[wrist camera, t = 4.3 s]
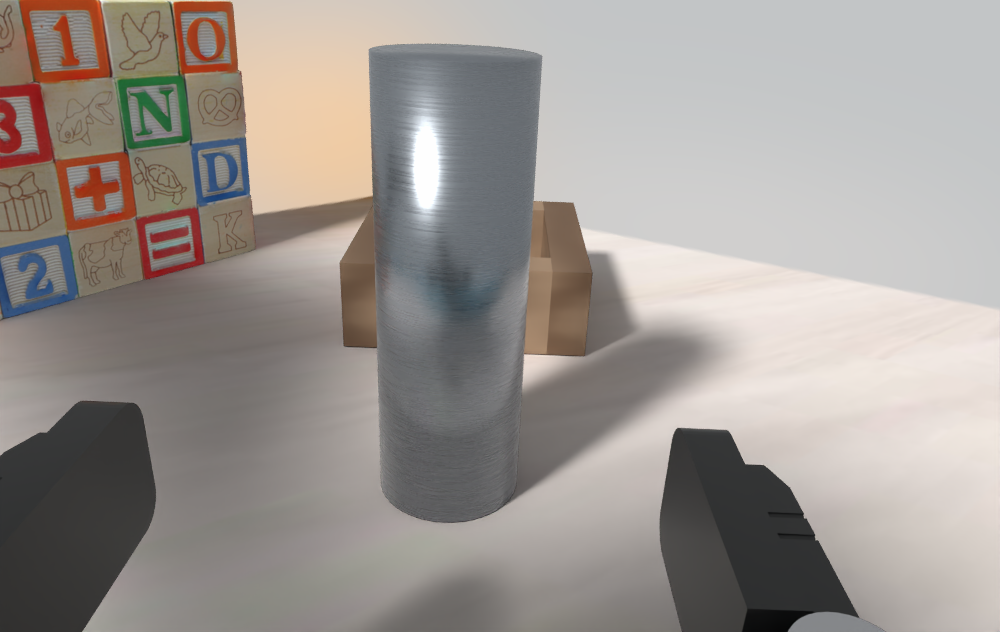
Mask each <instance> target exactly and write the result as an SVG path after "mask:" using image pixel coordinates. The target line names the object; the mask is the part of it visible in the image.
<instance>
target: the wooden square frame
mask: <svg viewBox="0 0 1000 632" xmlns="http://www.w3.org/2000/svg"><path fill="white" fill-rule="evenodd" d="M340 278H341V298H342V319H343V339H344V346H356V347H377V324H376V288H375V253H374V218H373V206H372V208H371V209H370V211H369V213H368V215H367V216H366V218H365V220H364V222H363V223H362V225H361V227H360V228H359V230H358V232H357V234H356V235H355V237H354V239H353V241H352V242H351V244H350V246H349V248H348V249H347V251H346V253H345V254H344V256H343V258H342V260H341V261H340ZM591 283H592V270H591V266H590V262H589V259H588V255H587V251H586V248H585V244H584V240H583V237H582V233H581V229H580V225H579V222H578V218H577V214H576V211H575V207H574V204H573V203H566V202H542V201H533V216H532V233H531V249H530V266H529V282H528V299H527V315H526V332H525V348H524V353H525V354H549V355H573V356H584V355H585V345H586V335H587V324H588V314H589V304H590V293H591Z"/></svg>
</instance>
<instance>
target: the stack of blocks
mask: <svg viewBox="0 0 1000 632" xmlns="http://www.w3.org/2000/svg"><path fill="white" fill-rule="evenodd" d="M245 123H246V122H245V110H244V97H243V85H242V75H241V71H239V70H238V60H237V47H236V35H235V24H234V11H233V4H232V2H230V1H224V0H0V320H1V319H2V318H7V317H12V316H15V315H19V314H23V313H27V312H30V311H34V310H37V309H41V308H44V307H48V306H52V305H55V304H59V303H62V302H66V301H70V300H73V299H76V298H78V297H83V296H87V295H91V294H94V293H98V292H101V291H105V290H108V289H112V288H116V287H119V286H123V285H126V284H130V283H134V282H137V281H141V280H144V279H150V278H154V277H158V276H161V275H165V274H168V273H172V272H176V271H179V270H183V269H187V268H190V267H194V266H197V265H201V264H204V263H209V262H212V261H216V260H220V259H223V258H227V257H231V256H234V255H238V254H241V253H245V252H249V251H252V250H255V247H256V245H255V233H254V224H253V212H252V201H251V195H250V186H249V174H248V162H247V148H246V137H245V134H246V124H245Z"/></svg>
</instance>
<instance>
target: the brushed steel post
mask: <svg viewBox="0 0 1000 632" xmlns="http://www.w3.org/2000/svg"><path fill="white" fill-rule="evenodd" d="M541 67H542V56H541V55H539V54H537V53H534V52H530V51H524V50H517V49H510V48H501V47H490V46H475V45H458V44H400V45H399V44H398V45H385V46H378V47H373V48H370V49H369V76H370V112H371V148H372V182H373V218H374V253H375V288H376V324H377V359H378V394H379V429H380V465H381V486H382V490H383V492H384V494H385V496H386V498H387V499H388V500H389V501H390V502H391V503H392V504H393V505H394V506H395V507H397V508H398V509H399V510H401V511H403V512H405V513H407V514H409V515H411V516H414V517H416V518H420V519H424V520H429V521H435V522H462V521H468V520H473V519H477V518H480V517H483V516H486V515H488V514H490V513H492V512H494V511H496V510H497V509H499V508H500V507H502V506H503V505H504V504H505V503H506V502H507V501H508V500H509V499H510V498H511V496H512V495H513V493H514V491H515V488H516V480H517V464H518V447H519V431H520V414H521V398H522V381H523V365H524V348H525V332H526V315H527V299H528V282H529V266H530V249H531V233H532V216H533V200H534V182H535V166H536V149H537V134H538V117H539V101H540V84H541Z"/></svg>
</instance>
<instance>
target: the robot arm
mask: <svg viewBox="0 0 1000 632" xmlns="http://www.w3.org/2000/svg"><path fill="white" fill-rule="evenodd" d="M155 502H156V488H155V482H154V476H153V471H152V465H151V459H150V454H149V448H148V443H147V437H146V431H145V426H144V420H143V416H142V413H141V410H140V408H139V407H138V406H137V405H136V404H134V403H123V402H100V401H80V402H78V403H76V404H75V405H74V406H73V407H72V408H71V409H70V410H69V411H68V412H67V413H66V414H65V415H64V416H63V417H62V418H61V419H60V420H59V421H58V422H57V423H56V424H55V425H54V426H53V427H52V428H51V429H50V430H49V431H48V432H47V433H38V434H36V435H34V436H33V437H31V438H29V439H27V440H25V441H24V442H22V443H20V444H18V445H16V446H15V447H13V448H11V449H9V450H8V451H6V452H4V453H3V454H2V455H1V456H0V632H82V631H83V630H84V628H85V627H86V625H87V623H88V622H89V620H90V619H91V617H92V616H93V614H94V613H95V611H96V609H97V608H98V606H99V605H100V603H101V602H102V600H103V599H104V597H105V595H106V594H107V592H108V591H109V589H110V588H111V586H112V585H113V583H114V581H115V580H116V578H117V577H118V575H119V574H120V572H121V570H122V569H123V567H124V566H125V564H126V563H127V561H128V560H129V558H130V556H131V555H132V553H133V552H134V550H135V549H136V547H137V546H138V544H139V542H140V541H141V539H142V538H143V536H144V535H145V533H146V531H147V530H148V528H149V526H150V523H151V520H152V517H153V514H154V509H155ZM803 515H804V513H803V511H802V509H801V508H800V506H799V504H798V502H797V500H796V498H795V496H794V494H793V493H792V491H791V489H790V487H788V486H787V485H786V484H785V483H784V482H783V481H782V480H780V479H779V478H778V477H777V476H776V475H775V474H774V473H772V472H771V471H770V470H769V469H768V468H767V467H766V466H764V465H746V464H745V463H744V461H743V459H742V457H741V455H740V452H739V450H738V448H737V446H736V444H735V442H734V440H733V438H732V435H731V434H730V432H729V431H727V430H714V429H691V428H677V429H676V431H675V432H674V435H673V439H672V444H671V450H670V456H669V462H668V469H667V475H666V481H665V487H664V493H663V499H662V506H661V512H660V543H661V551H662V555H663V559H664V563H665V567H666V571H667V575H668V579H669V583H670V587H671V591H672V594H673V598H674V602H675V606H676V610H677V614H678V618H679V622H680V626H681V630H682V632H886V631H884V630H883V629H881V628H879V627H877V626H875V625H874V624H872V623H870V622H867V621H865V620H863V619H860V618H859V616H858V614H857V613H856V611H855V609H854V607H853V605H852V603H851V601H850V599H849V598H848V596H847V594H846V592H845V590H844V588H843V586H842V584H841V583H840V581H839V579H838V577H837V575H836V573H835V571H834V569H833V568H832V566H831V564H830V562H829V560H828V558H827V556H826V554H825V553H824V551H823V549H822V547H821V545H820V543H819V541H818V540H815V534H814V532H813V530H812V528H811V526H810V524H809V523H808V521H807V519H804V516H803Z"/></svg>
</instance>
